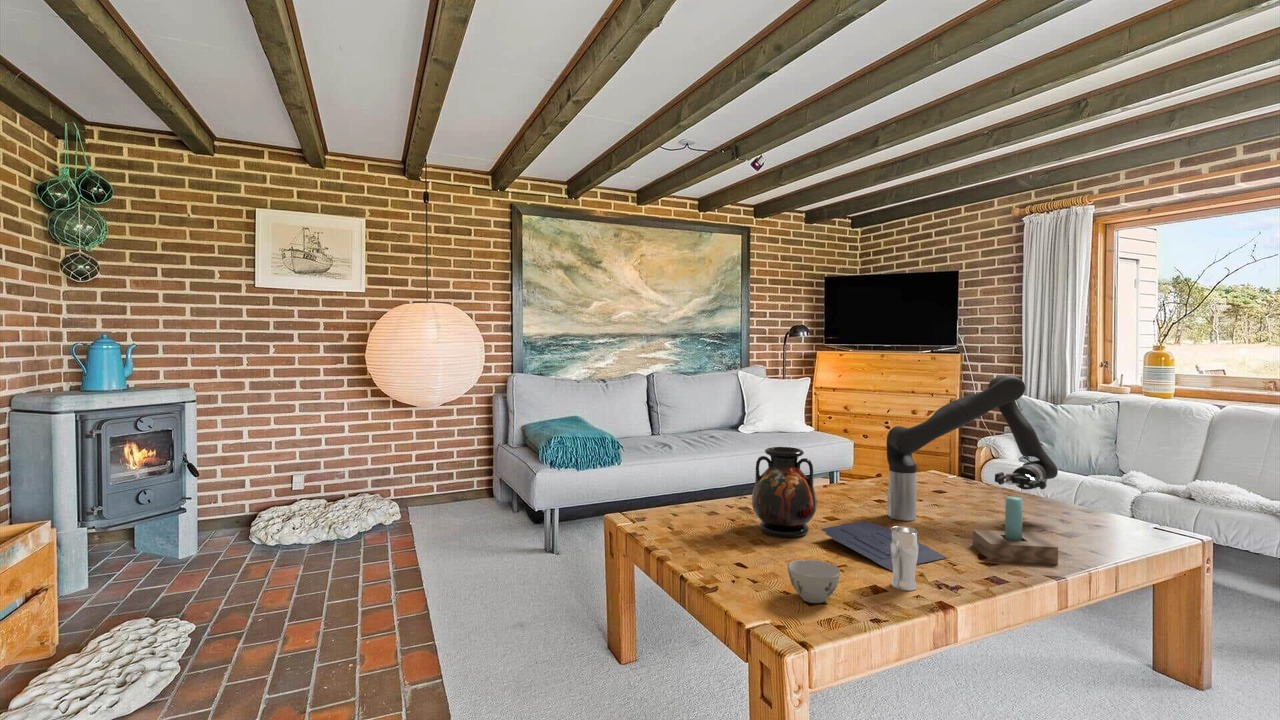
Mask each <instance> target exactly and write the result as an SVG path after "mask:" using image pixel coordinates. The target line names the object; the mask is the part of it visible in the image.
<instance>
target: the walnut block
mask: <svg viewBox="0 0 1280 720" xmlns="http://www.w3.org/2000/svg"><path fill="white" fill-rule="evenodd" d="M972 546H973V547H974V548H975V549H976V550H977V551H979V552H980V553H981V554H982V555H983V556H984V557H986V559H988V560H989V561H990V562H1006V563H1024V564H1025V563H1026V564H1042V565H1043V564H1044V565H1059V547H1058V546H1057V545H1056V544H1054V543H1053V542H1051V541H1049V540H1048V539H1046V538H1044V537H1043V536H1042V535H1040V534H1038V533H1037V532H1033V531H1022V541H1007V540H1006V539H1005V530H991V529H990V530H987V529H972Z"/></svg>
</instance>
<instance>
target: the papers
mask: <svg viewBox="0 0 1280 720" xmlns="http://www.w3.org/2000/svg"><path fill="white" fill-rule="evenodd" d="M820 531H823V532H824V535H826V536H828V537H829V538H831V539H832V540H834V541H835V542H838V543H839V544H841V545H844V546H846V547H847V548H848V549H851V550H853V551H855V552H856V553H858V554H859V555H860V554H861V555H862V556H864V557H866V558H868V559H870V560H871V561H873V563H876V564H878V565H880V566H882V567H883V568H885V569H887V570H889V571H891V572H893V566H892V560H891V554H890V533H891V528H887V527H885V526H881V525H879V524H877V523H871V522H869V521H866V520H861V521H856V522H851V523H846V524H840V525H835V526H829V527H824V528H820ZM943 559H948V556H946V555H944V554H942V553H940V552H938V551H936V550H934V549H932V548H930V547H929V546H927V545H925V544H923V543H921V542H919V550H918V558H917V563H916V565H919V564H924V563H928V562H934V561H939V560H943Z"/></svg>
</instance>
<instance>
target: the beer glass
mask: <svg viewBox="0 0 1280 720" xmlns="http://www.w3.org/2000/svg"><path fill="white" fill-rule="evenodd" d="M890 530H891V533H890V554H891V560H892V566H893V571H892V577H891V582H890V585H891V586H892V588H895V589H897V590H900V591H907V592H910V591H915V590H916V589H917V584H916V583H917V582H916V576H915V574H916V573H915V572H916V567H917V564H916V563H917V558H918V550H919V543H920V541H919V531H918V530H917V529H916V528H913V527H910V526H905V525H896V526H894V525H893V526H892V527H890Z"/></svg>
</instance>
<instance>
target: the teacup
mask: <svg viewBox="0 0 1280 720" xmlns="http://www.w3.org/2000/svg"><path fill="white" fill-rule="evenodd" d="M787 572H788V576H789V580H790V583H791V585H792V587H793V589H794V591H795V592H796V593H797V594H798V595H799V596H800V597H801V598H802V600H803V601H805V602H807V603H811V604H822V603H825V602H826V601H827V599H829V598H830V597H831V596H832V595H833V594H834V593H835V591H836V590H837V586H838V584H839V580H840V576H841V569H839V567H838V566H837V565H835V564H833V563H830V562H826V561H822V560H818V559H817V560H816V559H806V560H802V559H798V560H793V561H790V562H788V564H787Z"/></svg>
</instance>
